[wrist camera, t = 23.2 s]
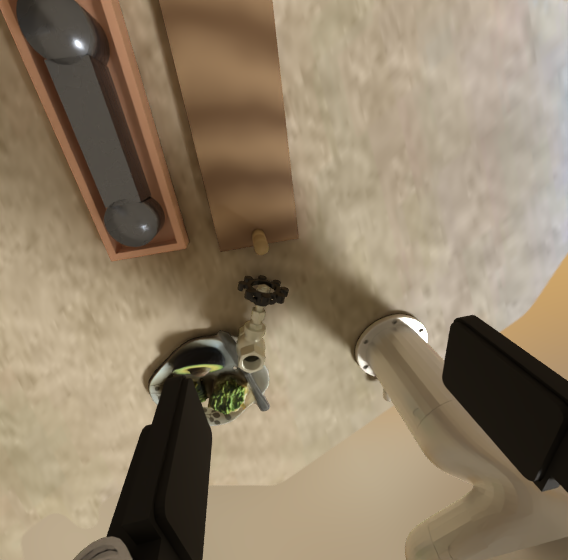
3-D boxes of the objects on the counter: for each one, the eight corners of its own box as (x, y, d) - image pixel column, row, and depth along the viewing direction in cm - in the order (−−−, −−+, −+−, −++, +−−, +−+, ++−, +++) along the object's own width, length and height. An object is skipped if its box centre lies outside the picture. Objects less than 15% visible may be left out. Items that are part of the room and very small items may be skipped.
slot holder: (189, 241, 35) (186, 248, 33) (119, 253, 35) (111, 261, 32) (111, -25, 24) (97, -43, 22) (6, -15, 24) (-18, -33, 21)
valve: (267, 346, 45) (284, 278, 40) (272, 376, 39) (293, 301, 34) (226, 342, 43) (238, 271, 38) (224, 373, 37) (239, 294, 32)
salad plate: (299, 373, 48) (305, 394, 44) (231, 432, 52) (230, 456, 48) (208, 312, 41) (205, 331, 37) (136, 387, 44) (126, 411, 40)
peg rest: (296, 234, 37) (307, 251, 31) (221, 247, 36) (218, 267, 31) (262, -62, 25) (270, -125, 19) (148, -53, 24) (120, -115, 18)
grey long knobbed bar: (170, 232, 34) (162, 242, 30) (128, 239, 34) (115, 250, 30) (96, 3, 25) (72, -21, 21) (36, 9, 24) (1, -15, 21)
